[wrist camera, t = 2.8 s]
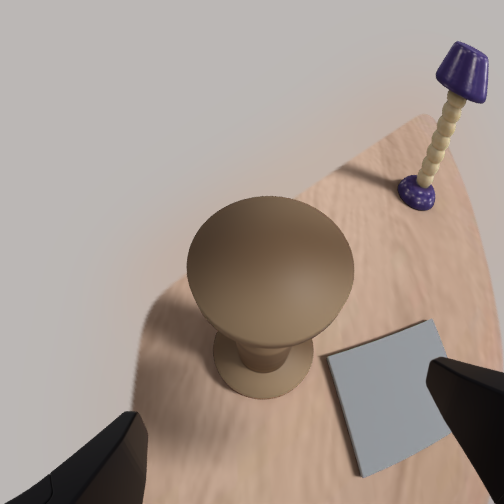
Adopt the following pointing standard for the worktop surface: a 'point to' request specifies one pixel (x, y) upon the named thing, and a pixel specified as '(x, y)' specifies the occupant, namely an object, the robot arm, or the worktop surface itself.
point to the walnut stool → (268, 289)
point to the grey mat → (389, 396)
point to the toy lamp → (447, 117)
